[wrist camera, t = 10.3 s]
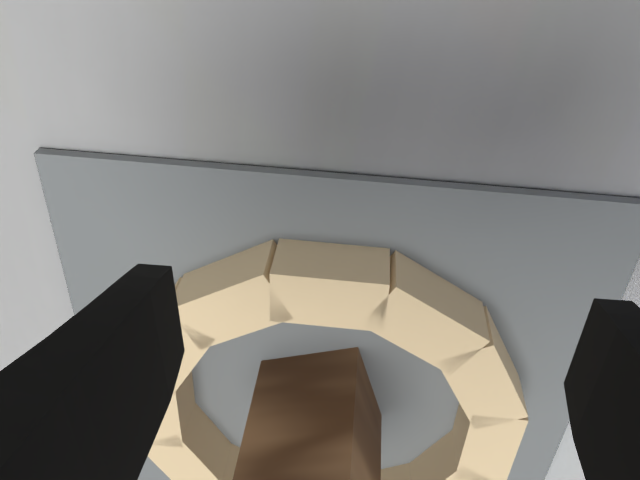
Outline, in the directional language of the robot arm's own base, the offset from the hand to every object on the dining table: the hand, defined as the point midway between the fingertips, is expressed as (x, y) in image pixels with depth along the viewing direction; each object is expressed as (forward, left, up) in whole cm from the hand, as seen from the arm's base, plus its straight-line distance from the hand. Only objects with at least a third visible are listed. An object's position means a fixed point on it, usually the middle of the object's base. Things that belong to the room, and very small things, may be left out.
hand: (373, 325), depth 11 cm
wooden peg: (+1, +12, -9) cm, 15 cm away
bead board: (+1, +12, -9) cm, 15 cm away
